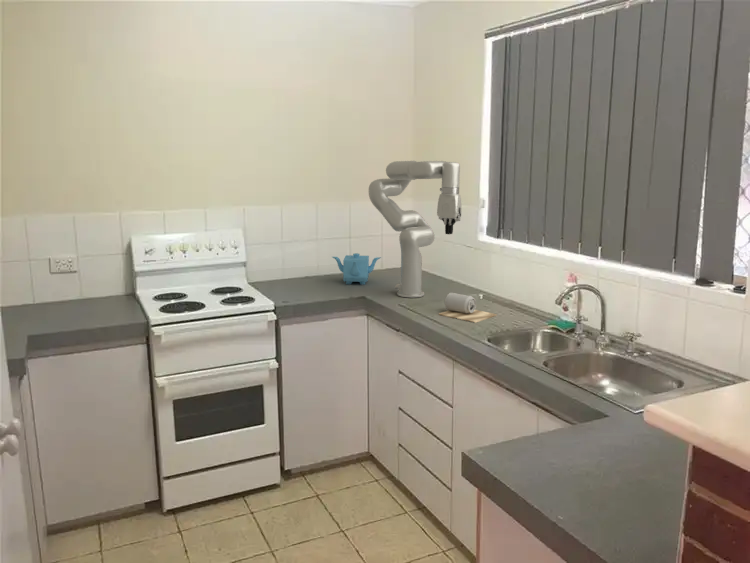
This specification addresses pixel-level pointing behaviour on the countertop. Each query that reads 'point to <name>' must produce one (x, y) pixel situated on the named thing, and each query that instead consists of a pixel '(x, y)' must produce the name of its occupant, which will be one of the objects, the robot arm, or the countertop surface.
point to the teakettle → (356, 268)
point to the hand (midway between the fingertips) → (448, 233)
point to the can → (460, 303)
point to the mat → (469, 315)
